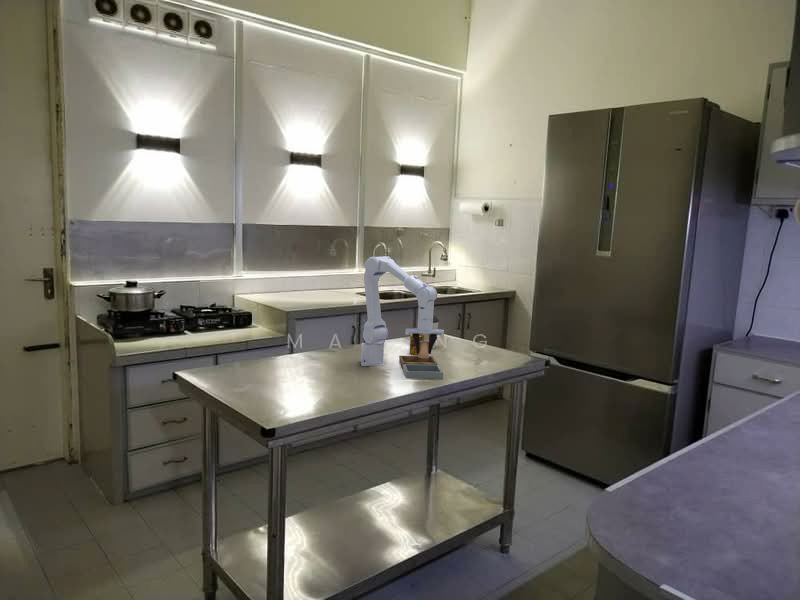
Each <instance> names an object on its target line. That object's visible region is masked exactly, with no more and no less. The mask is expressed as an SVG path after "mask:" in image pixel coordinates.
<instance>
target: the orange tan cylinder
mask: <svg viewBox="0 0 800 600" xmlns="http://www.w3.org/2000/svg"><path fill="white" fill-rule="evenodd" d="M429 355H430V354H429V342H428V341H419V354H418V357H419V358H428V357H429Z"/></svg>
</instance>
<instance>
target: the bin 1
mask: <svg viewBox="0 0 800 600" xmlns="http://www.w3.org/2000/svg"><path fill="white" fill-rule="evenodd" d="M398 358H399V360H398V362H399V364H400V366H401V367H400V368H401V370H403V364H420V365H439V363H438V362H437V361H436V359H435V358H434V356H432V355H431V356H429V357H428V358H419V357H418V356H416V355H399V356H398Z"/></svg>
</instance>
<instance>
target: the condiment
mask: <svg viewBox="0 0 800 600" xmlns="http://www.w3.org/2000/svg"><path fill="white" fill-rule="evenodd" d="M415 328H416V327H412V328H411V329H415ZM409 335H410V336H409V355H410V356H418V354H417V353H416V346H415V342H414V339H413V336H412V334H409ZM419 337H420V341H424V335H419Z"/></svg>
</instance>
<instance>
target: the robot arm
mask: <svg viewBox="0 0 800 600" xmlns="http://www.w3.org/2000/svg"><path fill="white" fill-rule="evenodd" d="M386 273H389V274H390V275H392V276H393V277H396V278H397V279H398V280H400V281H402V283H403V286H404V288H406V289H407V290H408V291H409V292H411V293H412V294H413V295H415V297H416V300H417V305H418V308H417V309H418V313H417V314H418V315H417V327H414V328H415V329H412V328H405V335H406V336H409V335H411V334H412V336H413V339H414V342H415V346H416V353H417V354H419V341H420V337H419V335H429V355H431V354H432V352H433V351H432V350H433V349H432V348H433V345H434V343H435V341H436V342H437V339H438V336H442V337H443V336H444V334H445V330H444V329H439V328H438V329H432V327H433V316H434V310H435V309H434V308H435V307H434V306H435V300H437V298H438V291H437V289H436V288H435V286H433V285H428V284H427V283H426V282H424V281H422V280H421V279H419V276H418V275H414V274H411V275H409V274H408V273H407V272H406V271H405V270H404V269H403V268H401V267H400V266H399V265H398V264H397V263H396V262H395V260H394V259H393V258H391V257H390V256H388V255H383V256H370V257H368V258H367V260H366V261H365V262H364V274H363V284H364V292H365V293H364V294H365V304H366V305H365V306H366V314H367V320H366V322H365V323H364V325H363V330H362V331H363V332H362V338H363V340H364V341H365V342H361V346H360V356H359V359H360V360H359V361H360V365H361V367H371V366H386V365H385V361H384V356H385V355H384V354H385V353H384V351H385V342H386V340H387V338H388V336H389V331H388V328H387V325H386V321H385V320H383V319H382V312H381V301H380V299H381V298H380V289H379V282H378V281H379V279H380V278H381V277H382V276H383V275H385V274H386Z"/></svg>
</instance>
